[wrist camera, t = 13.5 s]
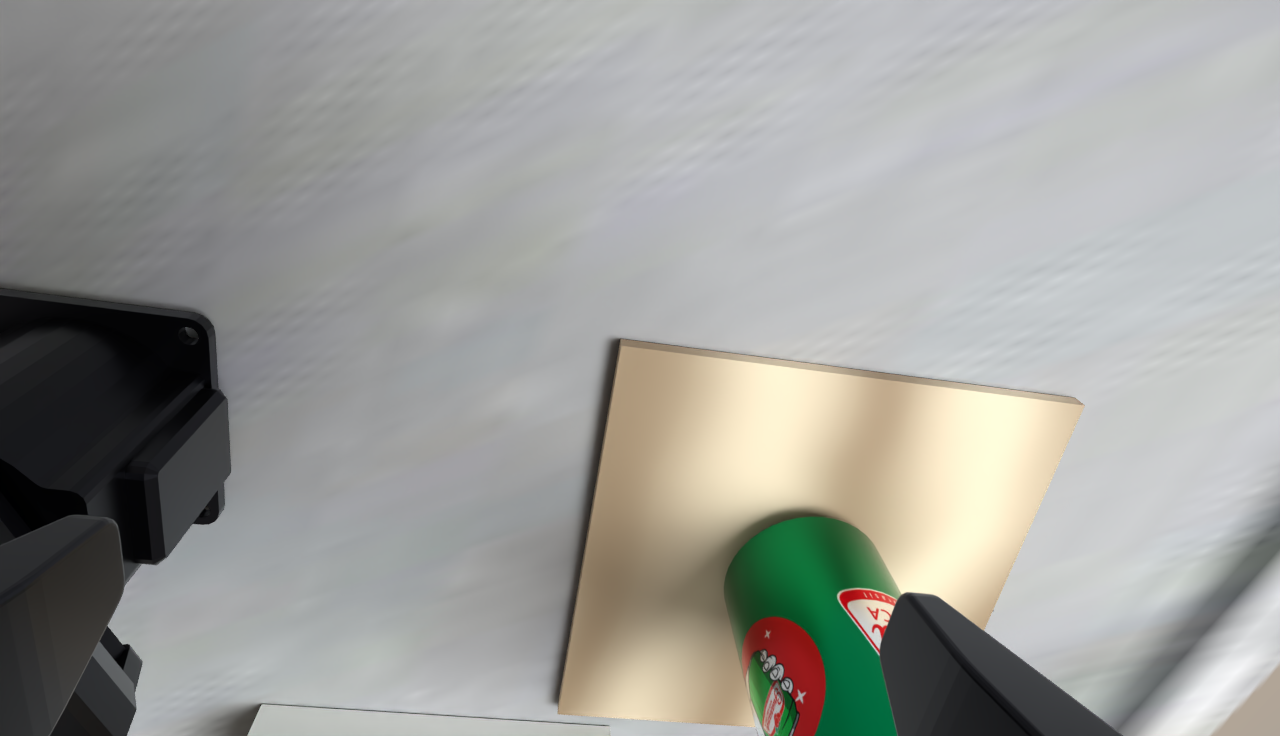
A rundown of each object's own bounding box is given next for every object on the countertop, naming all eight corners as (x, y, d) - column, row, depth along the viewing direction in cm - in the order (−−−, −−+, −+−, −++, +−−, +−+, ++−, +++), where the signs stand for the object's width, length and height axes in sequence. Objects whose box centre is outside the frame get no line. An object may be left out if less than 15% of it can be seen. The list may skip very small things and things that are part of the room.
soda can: (903, 579, 26) (1140, 999, 15) (773, 654, 27) (906, 1100, 16) (825, 476, 24) (1032, 872, 13) (689, 561, 25) (774, 995, 14)
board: (558, 702, 28) (557, 714, 27) (620, 338, 22) (621, 345, 21) (929, 727, 29) (935, 738, 29) (1075, 397, 24) (1084, 405, 23)
